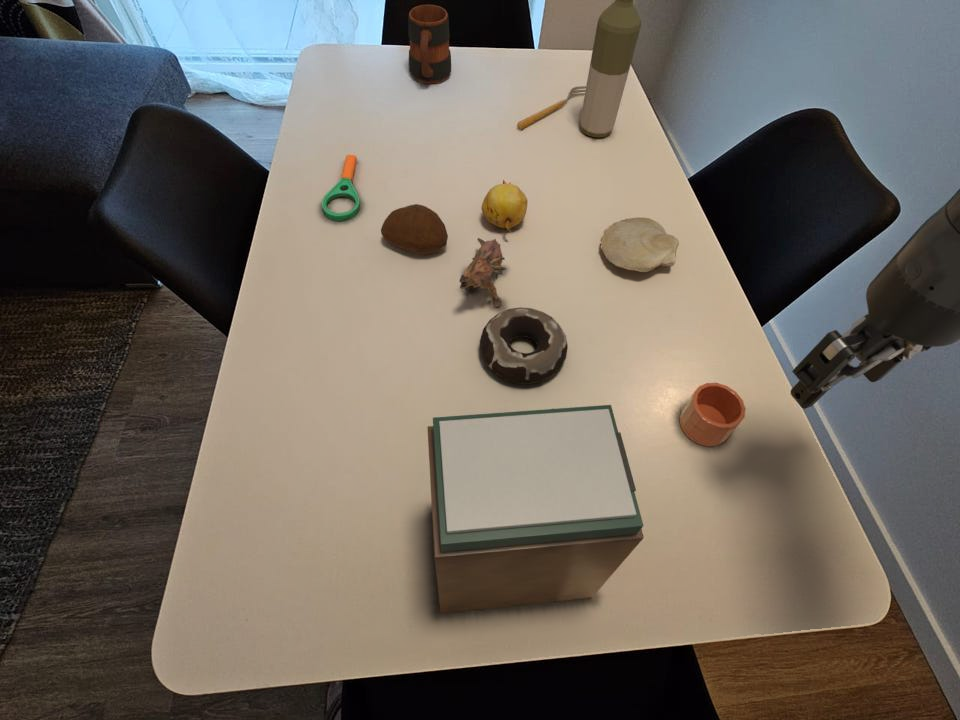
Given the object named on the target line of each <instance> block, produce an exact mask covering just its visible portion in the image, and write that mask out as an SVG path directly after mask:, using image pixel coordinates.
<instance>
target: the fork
mask: <svg viewBox="0 0 960 720" xmlns="http://www.w3.org/2000/svg"><path fill="white" fill-rule="evenodd" d="M585 90H586V85H582V86H573V87H572V88H571V89H570V90H569V92H568V94H567V96H566V98H565V99H562V100H559V101H557V102H556V103H553V104H551V105H550V106H548V107H545V108H543V109H542V110H540V111H537V112H536V113H534V114H531V115H529V116H528V117H526V118H523V119H521V120H519V121H518V122H517V124H516V127H517V129H518V130H523V129H524V128H526V127H528V126H530V125H531V124H534V123H535V122H536V121H539V120H540V119H542V118H543V117H546V116H547V115H549V114H551V113H552V112H554V111H555V110H558V109H559V108H561V107H562V106H564V105H565V104H566V103H567V102H568V100H570V99H571V98H574V97H581V96H585Z"/></svg>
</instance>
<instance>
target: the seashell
mask: <svg viewBox="0 0 960 720" xmlns="http://www.w3.org/2000/svg"><path fill="white" fill-rule="evenodd" d="M602 234H603V236H602V238H601V243H600V244H601V245H600V249H601V250H602V253H603V254H604V255H605V259H607V260H608V262H609V263H610V264H611V263H612V265H614V266H615V267H619V268H621V269H626V270H629V271H635V272H641V273H649V272H650V271H652V270H654V269H656V268H658V267H659V266H663V267H664V266H665V267H674V265H675V264H676V257H677V249H678V247H679V245H680V241H679V239H678V238H677V237H675V236H674V235H672V234H668V233H667V232H666V229H665V228H664V226H663V225H661V224H660V222H658V221H656V220H654V219H651V218H649V217H631V218H625V219H621V220H619V221H615V222H613V223H612V224H610V225H609V226H608V227H607V228H606V229H604V230H603V233H602Z"/></svg>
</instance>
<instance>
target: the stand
mask: <svg viewBox="0 0 960 720" xmlns="http://www.w3.org/2000/svg"><path fill="white" fill-rule="evenodd" d="M427 446H428V447H427V448H428V464H429V479H430V480H429V482H430V498H431V499H430V500H431V516H432V517H431V518H432V534H433V535H432V536H433V551H434V553H433V555H434V565H435V574H436V584H437V592H438V602H439V612H440V614H445V613H455V612H464V611H473V610H474V611H475V610H484V609H494V608H503V607H514V606H524V605H532V604H542V603H552V602H563V601H572V600H582V599H591V598H594V596H596V594H597V593H598V591H599V590H601V588H602V587H603V586H604V585H605V584H606V582H607V581H608V580H609V579H610V578H611V577H612V575H613V574H614V573H615V572H616V571H617V570H618V568H619V567H620V566H621V565H622V564H623V563H624V562H625V560H626V559H627V558H628V557H629V556H630V555H631V553H632V552H633V551H634V550H635V549H636V548H637V547H638V545H639V544H640V543H641V542H642V541H643V540H644V533H643V528H641V530H640V531H639V532H638V533H637V534H636V535H626V536H615V537H604V538H593V539H583V540H572V541H561V542H550V543H540V544H529V545H518V546H507V547H496V548H486V549H475V550H464V551H453V552H441V544H440V527H439V511H438V495H437V479H436V463H435V447H434V431H433V425H428V426H427Z"/></svg>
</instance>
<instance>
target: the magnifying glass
mask: <svg viewBox="0 0 960 720" xmlns="http://www.w3.org/2000/svg"><path fill="white" fill-rule="evenodd" d="M357 160H358V158H357V156H356V155H355V154H347V155H345V159H344V163H343V168H342V172H341V176H340V179H339V180H338V182H337V183H336V184H335V185H334V186H333V187H332V188H331V189H330V190H329V191H328V192H326V194H325V195H324V196H323V198H322V201H321V209H322V212H323V213H324V216H325V217H326V218H327V219H328V220H331V221H334V222H346V221H349V220H351V219H353V218H355V217H356V216H357V215H358V213H359V211H360V209H361V201H360V196H359V195H358V193H357V191H356V189H355V187H354V185H353V180H354V175H355V170H356V165H357ZM344 189H345V190H344ZM341 197H347V198H350V199H352V200H353V201H354V203H355V204H354V206H353V207H352V209H349V210H348V211H343V212H336V211H335V212H334V211H332V210H330V209H329V208H328V207H327V206H328V204H329V202H330V201H332V200H334V199H336V198H341Z"/></svg>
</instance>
